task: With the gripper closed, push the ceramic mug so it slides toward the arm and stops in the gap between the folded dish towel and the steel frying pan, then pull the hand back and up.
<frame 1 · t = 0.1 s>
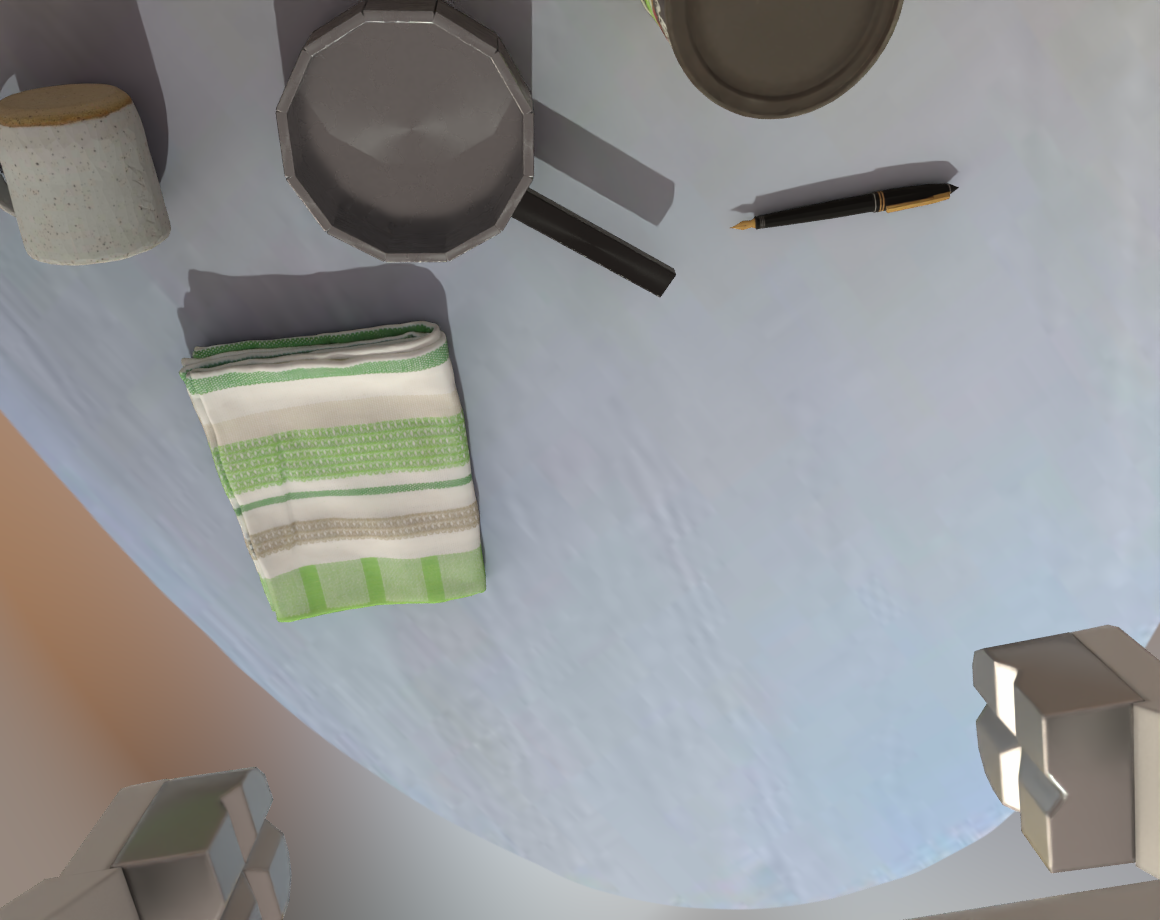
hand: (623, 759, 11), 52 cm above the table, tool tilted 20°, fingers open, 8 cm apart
steel pan: (411, 126, 58), on the table
dish towel: (352, 470, 72), on the table
ceramic mug: (81, 155, 58), on the table
fountain pen: (839, 202, 63), on the table
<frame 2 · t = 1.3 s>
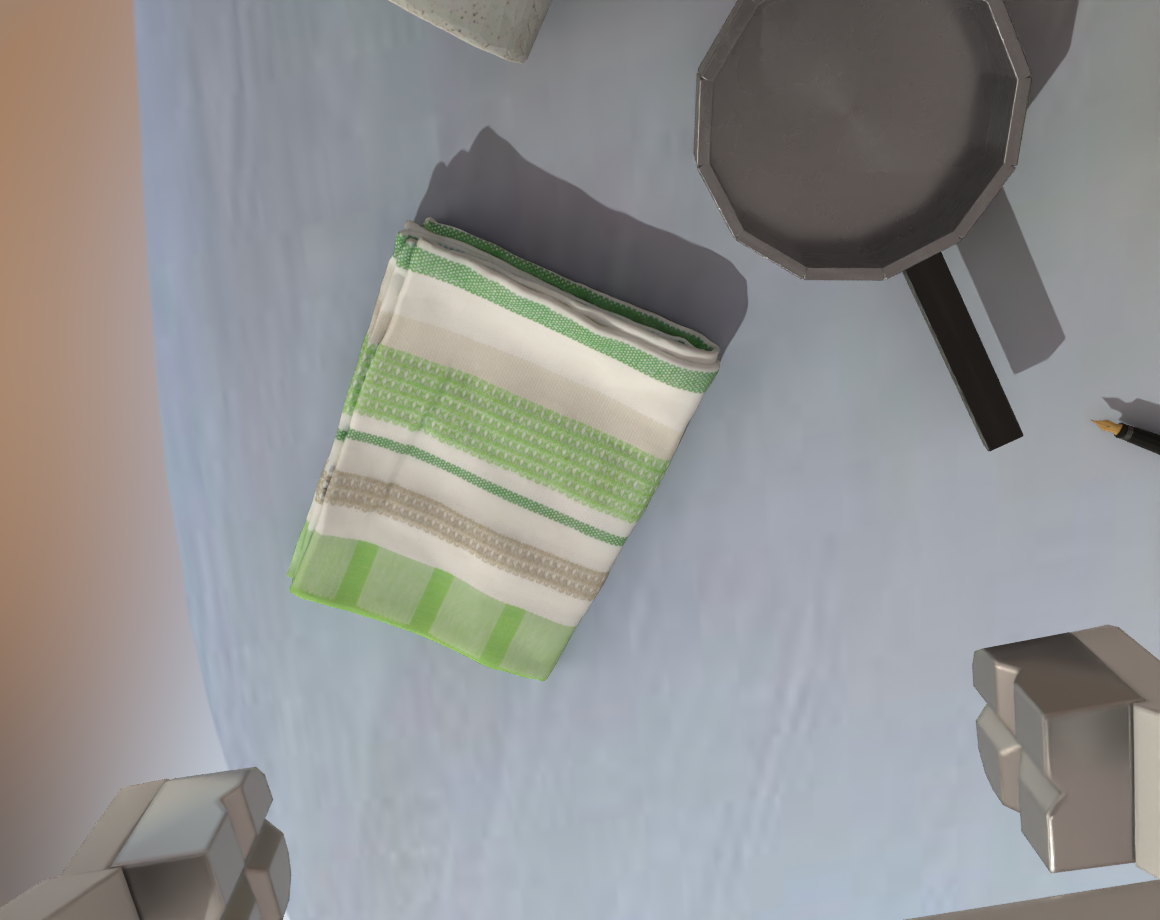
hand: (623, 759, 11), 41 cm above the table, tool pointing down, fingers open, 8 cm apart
steel pan: (846, 113, 46), on the table
dish towel: (493, 461, 56), on the table
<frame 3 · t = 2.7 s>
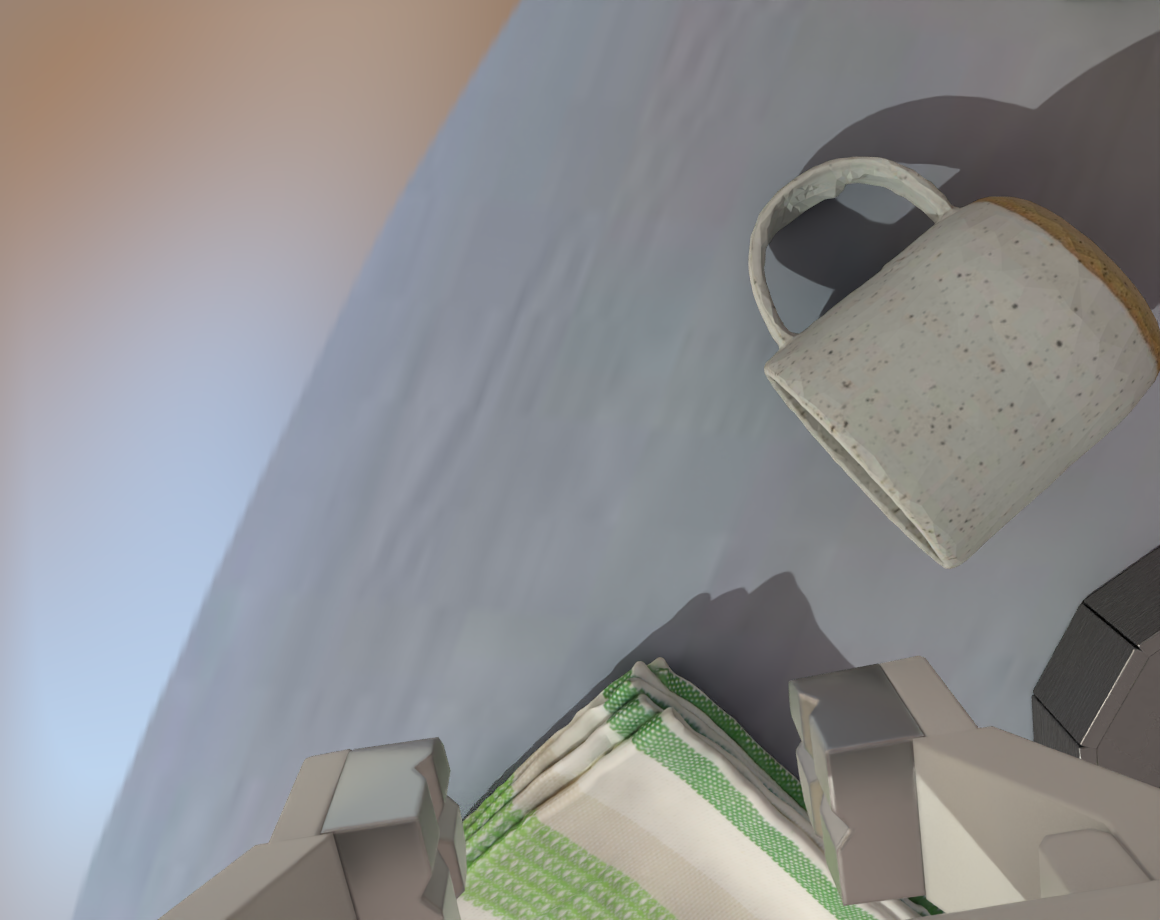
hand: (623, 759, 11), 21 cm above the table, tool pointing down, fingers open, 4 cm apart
ceramic mug: (877, 327, 32), on the table
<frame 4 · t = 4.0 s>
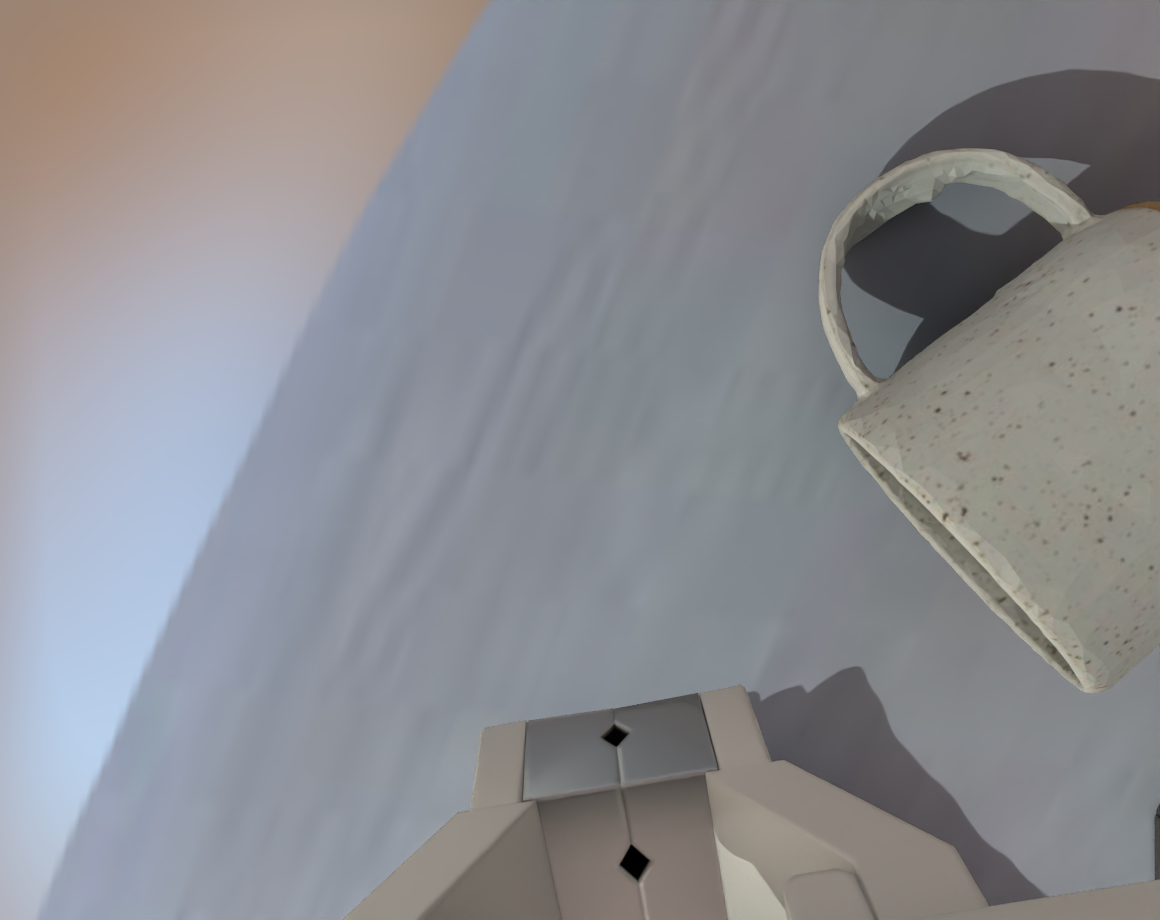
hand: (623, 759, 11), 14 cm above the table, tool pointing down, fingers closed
ceramic mug: (977, 365, 25), on the table
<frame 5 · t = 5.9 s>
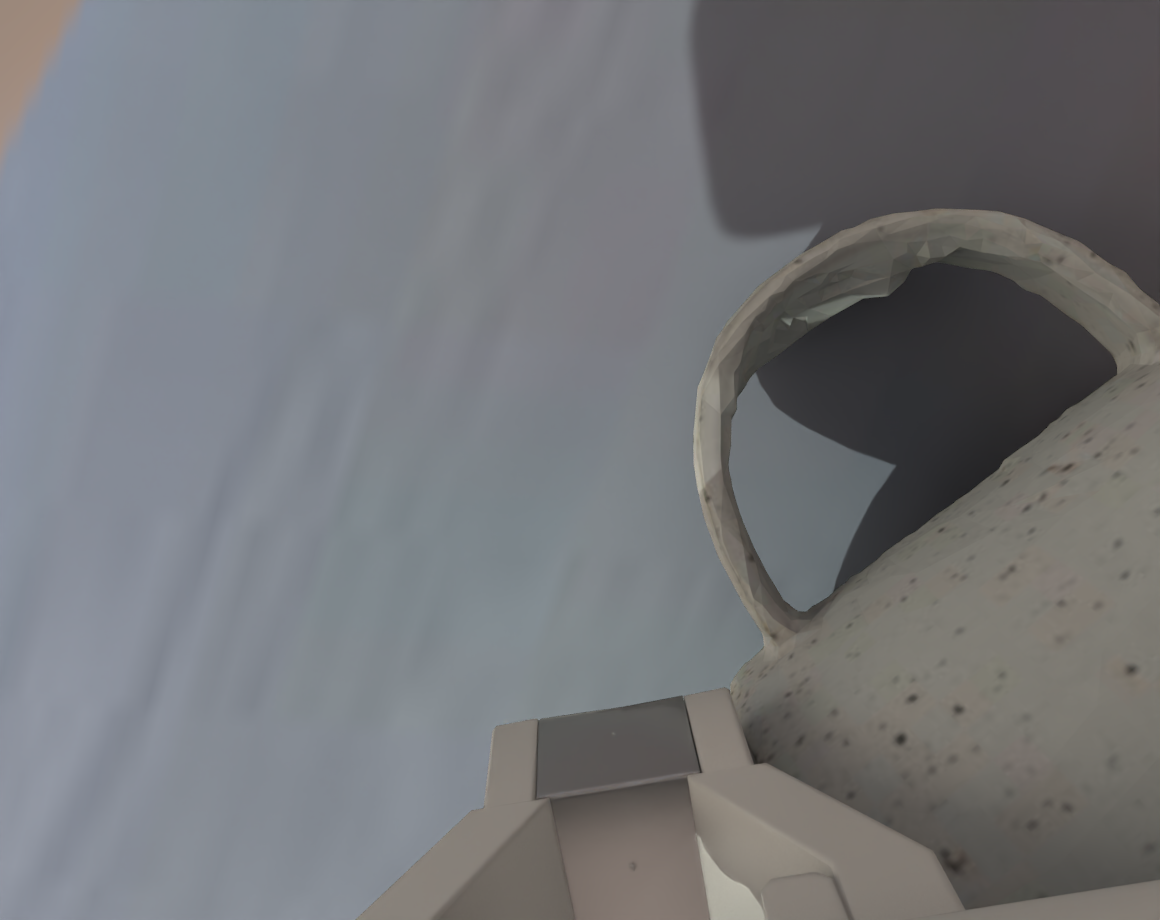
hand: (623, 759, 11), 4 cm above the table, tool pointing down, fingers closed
ceramic mug: (966, 550, 15), on the table, touching gripper
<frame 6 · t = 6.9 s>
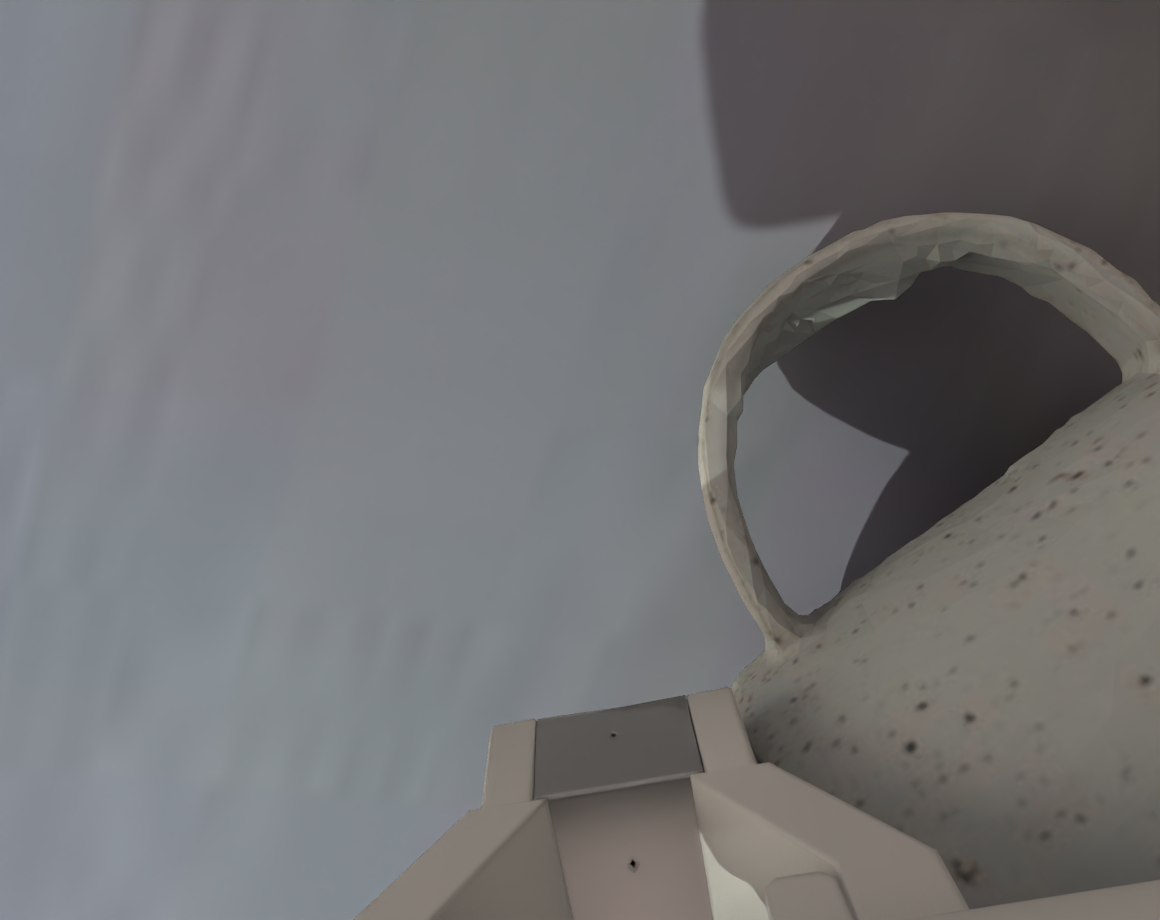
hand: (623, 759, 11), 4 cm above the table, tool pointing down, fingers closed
ceramic mug: (964, 555, 15), on the table, touching gripper
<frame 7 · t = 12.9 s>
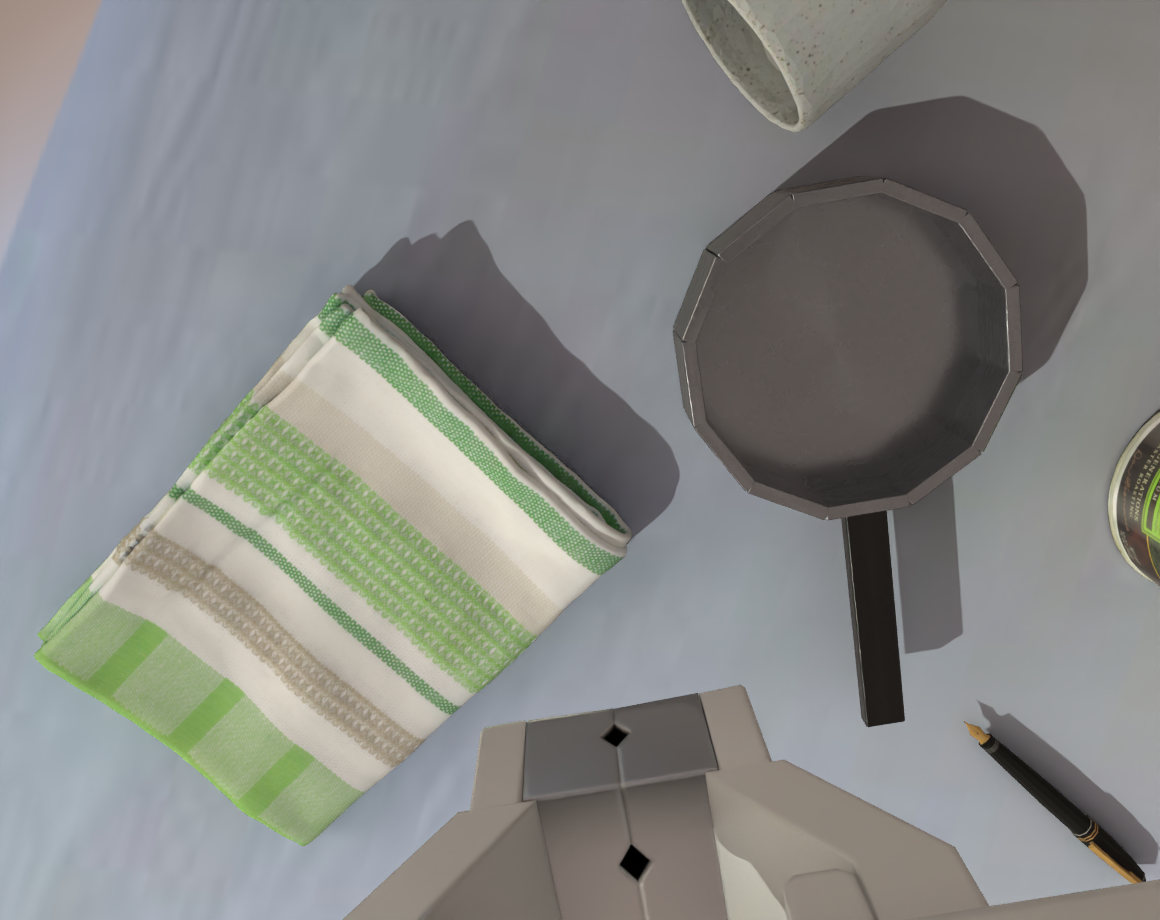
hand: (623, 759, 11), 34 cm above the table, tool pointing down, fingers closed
steel pan: (832, 343, 45), on the table
dish towel: (338, 576, 48), on the table
fountain pen: (1049, 794, 52), on the table
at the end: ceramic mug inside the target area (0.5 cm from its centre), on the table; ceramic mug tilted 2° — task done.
